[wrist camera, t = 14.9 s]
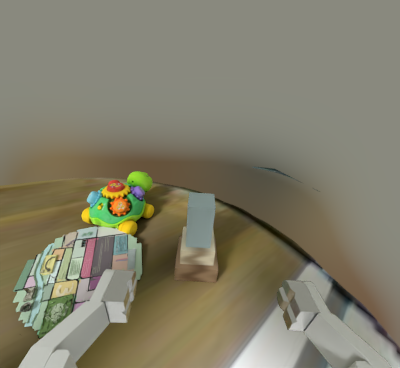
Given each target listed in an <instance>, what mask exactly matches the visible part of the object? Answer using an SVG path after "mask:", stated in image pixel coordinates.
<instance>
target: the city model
mask: <svg viewBox="0 0 400 368" xmlns="http://www.w3.org/2000/svg"><path fill="white" fill-rule="evenodd" d="M83 246H84V247H83ZM106 269H114V270H127V271H136V278H135V279H136V280H139V279H140V275H142V250H141V243H137V238H134V236H131V235H130V234H129V235H128V234H126V233H124V232H122V231H119V230H118V229H117V228H116V229H114V228H108V227H103V226H102V227H97V228H96V227H90V228H85V229H80V230H77V231H76V232H72V233H69V235H63V237H61V238H56V239H55V243H52V244H51V245H48V247H47V248H46V249H45V250H44V251H42V253H41V254H37V255H36V258H35V259H33V260H28V262H27V264H26V266H25V268H24V270H23V272H22V274H21V276H20V278H19V280H18V282H17V284H16V286H15V288H14V290H13V291H14V292H17V291H18V292H17V294H16V296H15V299H14V301H13V303H14V302H19V304H18V306H17V308H16V312H18V311H20V312H22V313H21V315H20V318H19V320H23V319H24V320H23V323H25V322H26V324H25V326H24V327H27V326H32V325H33V327H32V329H34V328H35V329H34V331H36V330H39V331H38V333H37V335H39V336H38V338H40V337H43V336H45V335H46V334H47V333H49V332H50V331H51V330H52V329H53V328H55V327H56V326H57V325H58V324H59V323H61V322H62V321H63V320H64V319H65V318H67V317H68V316H69V315H70V314H71V313H72V312H74V311H75V310H76V309H77V308H78V307H80V306H81V305H82V304H83V303H84V302H86V301H90V299H91V297H92V295H93V293H94V291H95V289H96V287H97V285H98V283H99V281H100V279H101V276H102V274H103V272H104V271H105V270H106ZM44 286H45V287H44ZM19 320H18V321H19ZM21 336H22V335H21Z"/></svg>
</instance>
